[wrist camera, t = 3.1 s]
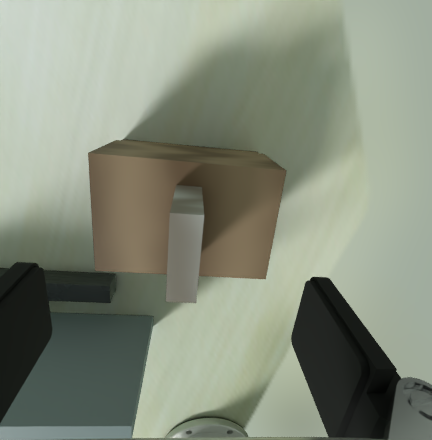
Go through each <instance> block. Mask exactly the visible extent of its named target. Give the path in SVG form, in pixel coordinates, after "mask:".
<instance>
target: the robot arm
mask: <svg viewBox="0 0 432 440" xmlns="http://www.w3.org/2000/svg"><path fill="white" fill-rule="evenodd" d="M51 336H52V322H51V315H50V308H49V302H48V295H47V288H46V281H45V275H44V270H43V268H39V266H38V264H36V263H23V262H18V263H15V264H14V265H13V266H12V267H11V268H10V269H9V270H8V271H7V272H5V273H4V274H3V275H2V276H1V277H0V423H1V421H2V420H3V418H4V416H5V415H6V413H7V411H8V409H9V408H10V406H11V404H12V403H13V401H14V399H15V398H16V396H17V394H18V393H19V391H20V389H21V388H22V386H23V384H24V383H25V381H26V379H27V377H28V376H29V374H30V372H31V371H32V369H33V367H34V366H35V364H36V362H37V361H38V359H39V357H40V356H41V354H42V352H43V351H44V349H45V347H46V346H47V344H48V342H49V340H50V338H51ZM291 340H292V345H293V348H294V351H295V353H296V355H297V358H298V361H299V363H300V366H301V368H302V371H303V373H304V376H305V379H306V381H307V383H308V386H309V389H310V391H311V394H312V396H313V398H314V401H315V404H316V406H317V409H318V411H319V414H320V417H321V419H322V422H323V424H324V427H325V429H326V432H327V434H328V436H329V437H248V435H247V433H246V432H245V430H244V429H243V428H241V427H240V426H239V425H237V424H235V423H233V422H231V421H228V420H225V419H220V418H201V419H195V420H191V421H188V422H186V423H183V424H181V425H179V426H178V427H176V428H174V429H173V430H172V431H171V432H170V433H169V434H168V435H167V436H166V438H124V439H58V440H432V385H431V384H429V383H427V382H425V381H423V380H420V379H417V378H412V377H408V378H402V379H401V377H400V376H399V375H398V374H397V372H396V368H395V366H394V365H393V364H392V363H391V361H390V360H389V358H388V357H387V356H386V354H385V353H384V351H383V350H382V349H381V347H380V346H379V345H378V343H377V342H376V341H375V339H374V338H373V337H372V335H371V334H370V333H369V331H368V330H367V329H366V327H365V326H364V325H363V323H362V322H361V321H360V319H359V318H358V317H357V315H356V314H355V313H354V311H353V310H352V308H351V307H350V306H349V304H348V303H347V302H346V300H345V299H344V298H343V296H342V295H341V294H340V292H339V291H338V290H337V288H336V287H335V286H334V284H333V283H332V281H331V280H330V279H329V278H326V277H312V278H311V279H310V281H307V282H306V283H305V287H304V291H303V294H302V298H301V302H300V306H299V310H298V313H297V317H296V321H295V325H294V328H293V332H292V338H291Z"/></svg>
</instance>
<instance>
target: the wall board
mask: <svg viewBox="0 0 432 440" xmlns="http://www.w3.org/2000/svg"><path fill="white" fill-rule="evenodd" d="M50 315H51V322H52V336H51V338H50V340H49V342H48V344H47V346H46V347H45V349H44V351H43V352H42V354H41V356H40V357H39V359H38V361H37V362H36V364H35V366H34V367H33V369H32V371H31V372H30V374H29V376H28V377H27V379H26V381H25V383H24V384H23V386H22V388H21V389H20V391H19V393H18V394H17V396H16V398H15V399H14V401H13V403H12V404H11V406H10V408H9V409H8V411H7V413H6V415H5V416H4V418H3V420H2V421H1V423H0V440H58V439H124V438H132V435H133V430H134V424H135V419H136V414H137V408H138V403H139V398H140V392H141V387H142V382H143V376H144V371H145V366H146V360H147V355H148V350H149V345H150V339H151V334H152V329H153V316H136V315H107V314H79V313H50Z"/></svg>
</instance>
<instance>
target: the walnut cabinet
mask: <svg viewBox="0 0 432 440" xmlns="http://www.w3.org/2000/svg"><path fill="white" fill-rule="evenodd" d="M88 158H89V175H90V192H91V209H92V226H93V243H94V260H95V271H111V272H131V273H152V274H167V285H166V302H181V303H196V299H197V288H198V278H199V276H212V277H232V278H252V279H266V275H267V269H268V264H269V259H270V254H271V249H272V243H273V238H274V233H275V228H276V222H277V217H278V212H279V207H280V202H281V196H282V191H283V186H284V181H285V176H286V170H285V169H284V168H282V167H281V166H279V165H278V164H277V163H275V162H274V161H272V160H271V159H270V158H268V157H267V156H266V155H264V154H259V153H258V152H252V151H242V150H231V149H221V148H210V147H199V146H189V145H178V144H168V143H157V142H147V141H136V140H125V139H123V140H121V141H119V140H115V141H113V142H111V143H109V144H107V145H105V146H102V147H100V148H98V149H96V150H94V151H91V152H89V153H88Z"/></svg>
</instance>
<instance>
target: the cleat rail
mask: <svg viewBox="0 0 432 440" xmlns="http://www.w3.org/2000/svg"><path fill="white" fill-rule="evenodd" d="M8 270H9V269H6V268H0V277H1V276H2V275H3V274H4V273H5V272H7V271H8ZM44 275H45V281H46V288H47V295H48V301H71V302H97V303H111V300H112V298H113V295H114V293H115V291H116V278H115V274H109V273H88V272H68V271H47V270H44Z"/></svg>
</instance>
